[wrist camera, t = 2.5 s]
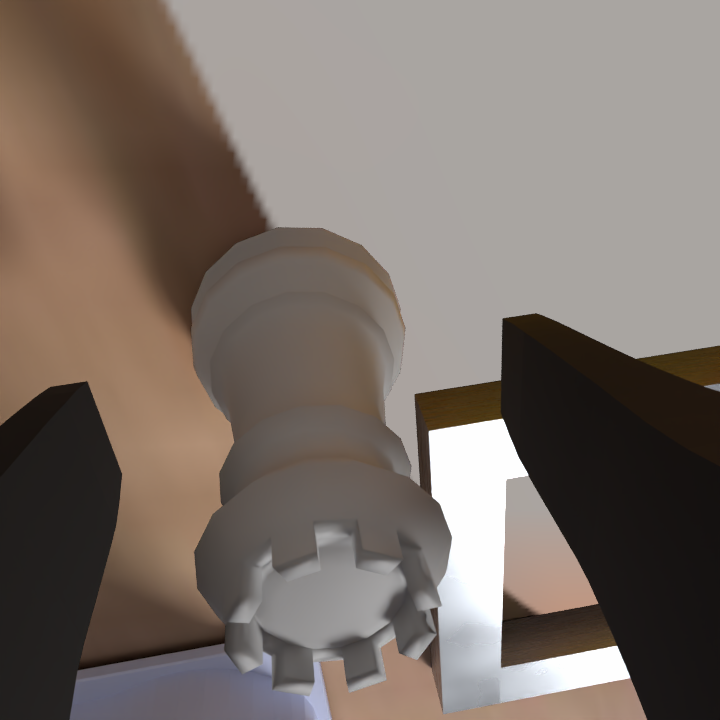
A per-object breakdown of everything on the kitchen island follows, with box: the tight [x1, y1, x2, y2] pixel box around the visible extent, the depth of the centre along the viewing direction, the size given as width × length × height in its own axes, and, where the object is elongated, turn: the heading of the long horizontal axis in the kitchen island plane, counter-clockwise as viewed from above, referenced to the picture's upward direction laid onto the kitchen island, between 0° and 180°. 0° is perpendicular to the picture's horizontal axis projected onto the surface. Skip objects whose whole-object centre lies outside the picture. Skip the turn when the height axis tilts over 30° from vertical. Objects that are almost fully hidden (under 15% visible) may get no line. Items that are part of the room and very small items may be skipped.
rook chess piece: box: [191, 227, 452, 696], centre depth 11 cm, size 4×4×8 cm
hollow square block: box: [415, 346, 720, 714], centre depth 18 cm, size 11×11×2 cm
